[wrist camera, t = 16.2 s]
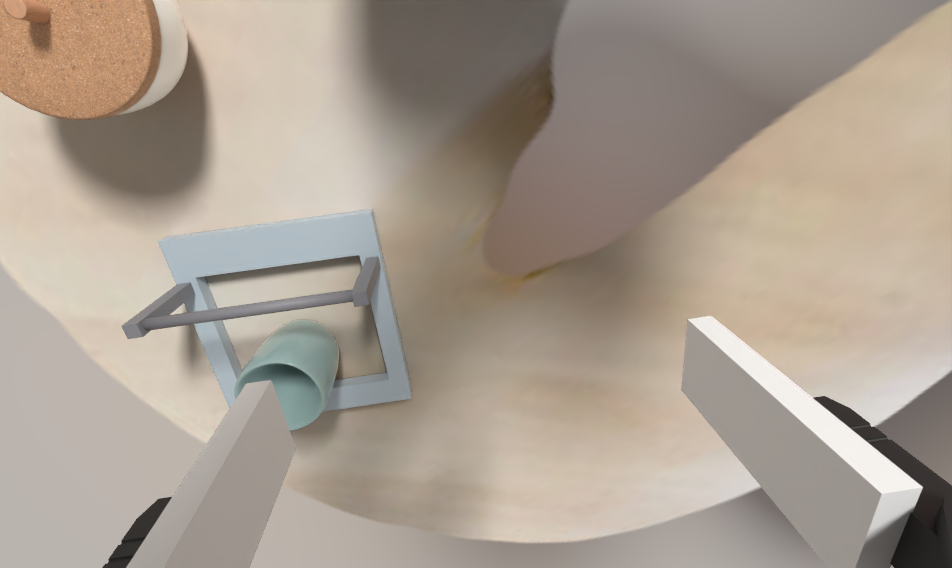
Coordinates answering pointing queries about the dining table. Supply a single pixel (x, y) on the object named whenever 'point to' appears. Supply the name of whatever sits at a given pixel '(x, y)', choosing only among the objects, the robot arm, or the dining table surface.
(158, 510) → the robot arm
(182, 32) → the lidded bowl
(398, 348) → the towel rail frame
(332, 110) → the dining table surface
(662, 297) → the dining table surface
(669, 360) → the dining table surface
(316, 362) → the cup
